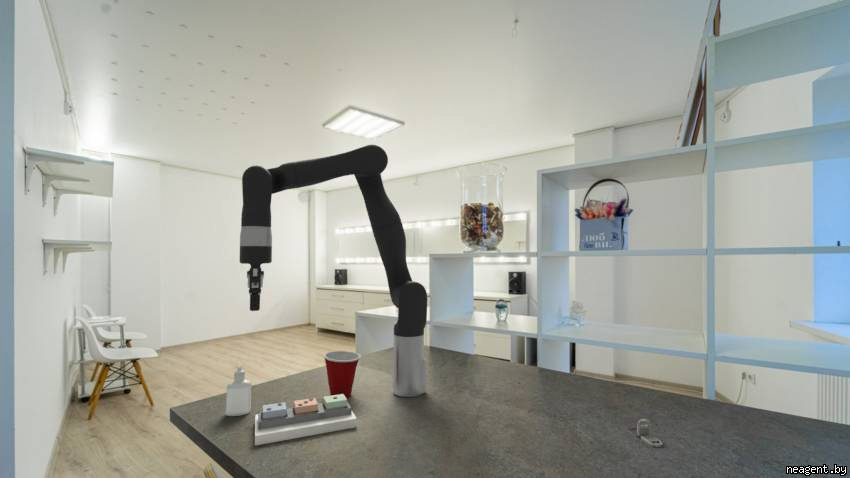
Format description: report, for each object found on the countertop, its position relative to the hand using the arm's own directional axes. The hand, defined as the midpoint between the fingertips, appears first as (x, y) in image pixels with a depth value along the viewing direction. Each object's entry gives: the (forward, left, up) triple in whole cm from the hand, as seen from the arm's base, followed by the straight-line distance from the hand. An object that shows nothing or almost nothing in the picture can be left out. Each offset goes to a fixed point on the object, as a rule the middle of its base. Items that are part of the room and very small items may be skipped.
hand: (255, 308), depth 95 cm
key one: (-19, +10, -23) cm, 31 cm away
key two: (-5, +10, -23) cm, 26 cm away
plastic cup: (-24, -6, -27) cm, 37 cm away
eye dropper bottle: (+3, -4, -27) cm, 28 cm away
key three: (-12, +10, -23) cm, 28 cm away
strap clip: (-81, +47, -28) cm, 97 cm away
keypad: (-12, +10, -27) cm, 31 cm away
